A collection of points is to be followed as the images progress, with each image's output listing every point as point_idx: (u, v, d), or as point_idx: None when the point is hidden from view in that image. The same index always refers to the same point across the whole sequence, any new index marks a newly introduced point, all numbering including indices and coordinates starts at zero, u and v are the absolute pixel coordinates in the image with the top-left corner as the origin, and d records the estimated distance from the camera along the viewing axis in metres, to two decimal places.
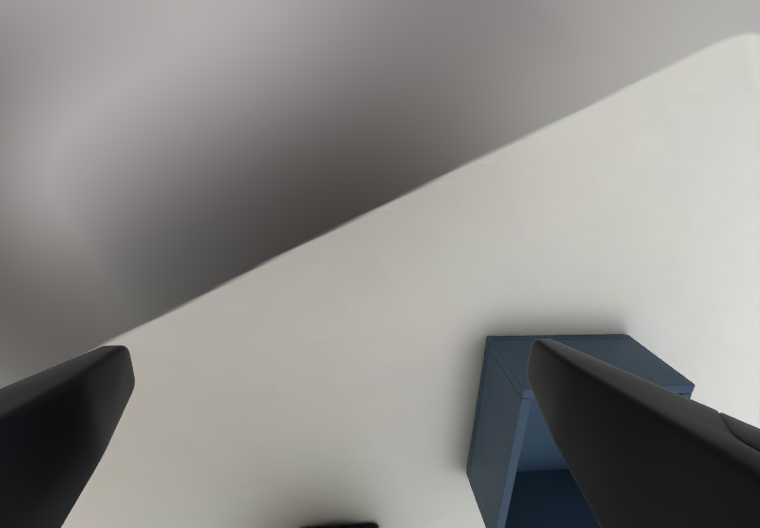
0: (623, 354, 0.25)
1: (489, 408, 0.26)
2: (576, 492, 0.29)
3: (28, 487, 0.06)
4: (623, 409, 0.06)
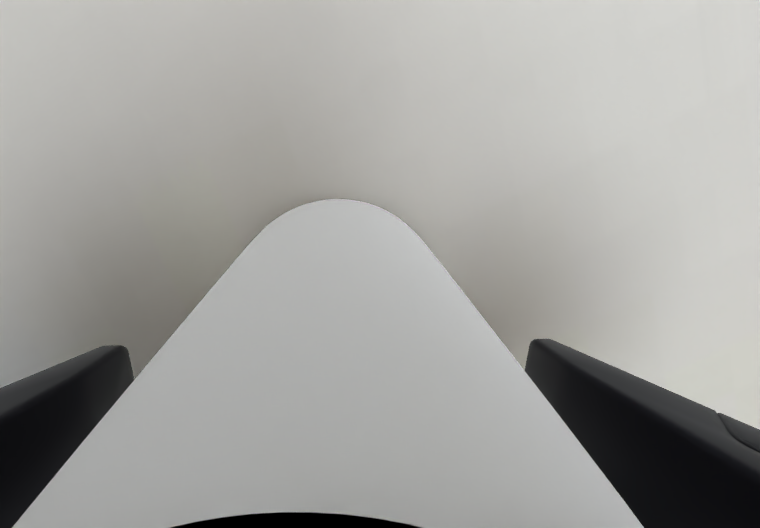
0: None
1: None
2: None
3: (26, 487, 0.06)
4: (621, 409, 0.06)
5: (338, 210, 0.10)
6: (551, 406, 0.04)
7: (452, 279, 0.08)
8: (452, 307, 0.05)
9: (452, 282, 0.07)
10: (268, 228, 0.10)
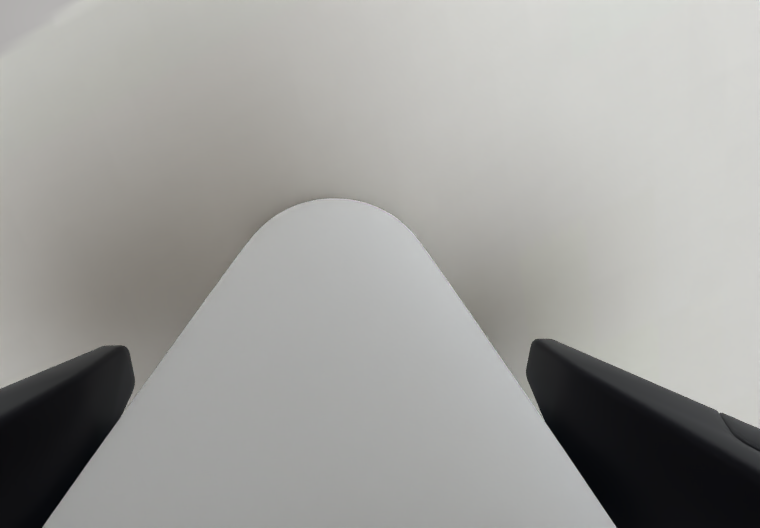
0: None
1: None
2: None
3: (28, 487, 0.06)
4: (623, 409, 0.06)
5: (335, 212, 0.10)
6: (541, 419, 0.05)
7: (448, 284, 0.08)
8: (448, 320, 0.05)
9: (448, 288, 0.07)
10: (265, 229, 0.10)
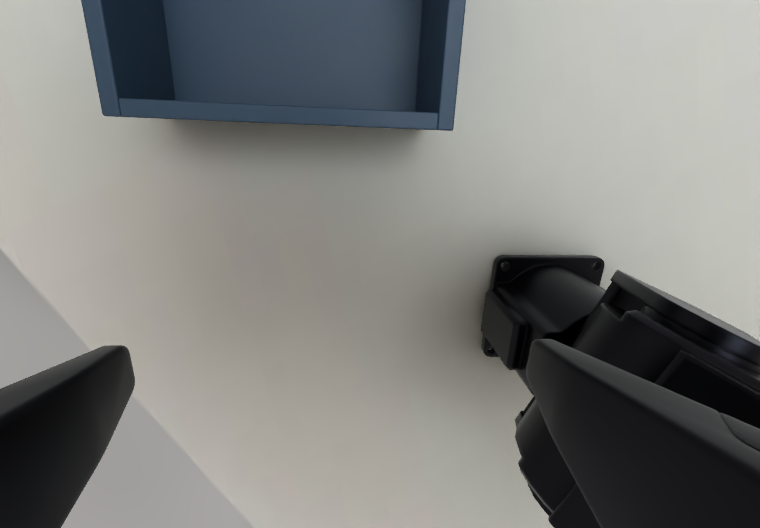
0: None
1: None
2: None
3: (28, 487, 0.06)
4: (623, 409, 0.06)
5: None
6: None
7: None
8: None
9: None
10: None
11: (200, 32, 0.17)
